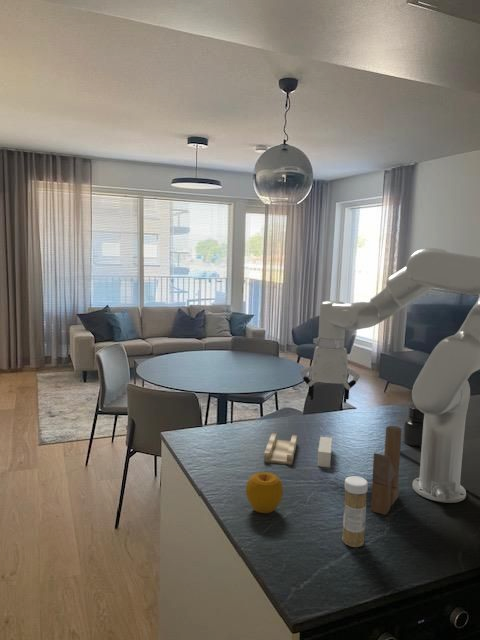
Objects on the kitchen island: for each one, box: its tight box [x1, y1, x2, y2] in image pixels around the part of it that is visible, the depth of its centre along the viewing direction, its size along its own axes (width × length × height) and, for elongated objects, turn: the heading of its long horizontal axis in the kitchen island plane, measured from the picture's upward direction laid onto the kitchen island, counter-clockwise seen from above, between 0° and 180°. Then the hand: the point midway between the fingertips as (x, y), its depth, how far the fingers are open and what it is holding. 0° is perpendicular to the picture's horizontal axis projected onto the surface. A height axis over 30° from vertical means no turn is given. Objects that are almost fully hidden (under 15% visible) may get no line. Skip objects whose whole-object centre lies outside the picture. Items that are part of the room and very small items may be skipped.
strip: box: [316, 436, 333, 468], centre depth 142 cm, size 12×4×4 cm, turn 167°
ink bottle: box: [402, 403, 425, 448], centre depth 155 cm, size 10×9×12 cm
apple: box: [245, 471, 284, 514], centre depth 111 cm, size 8×8×9 cm
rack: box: [263, 432, 298, 466], centre depth 146 cm, size 16×8×3 cm, turn 168°
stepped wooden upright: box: [370, 425, 402, 516], centre depth 115 cm, size 4×11×18 cm, turn 147°
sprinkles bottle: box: [341, 475, 369, 548], centre depth 99 cm, size 5×5×13 cm
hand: (328, 400), depth 144 cm, fingers open, 9 cm apart
